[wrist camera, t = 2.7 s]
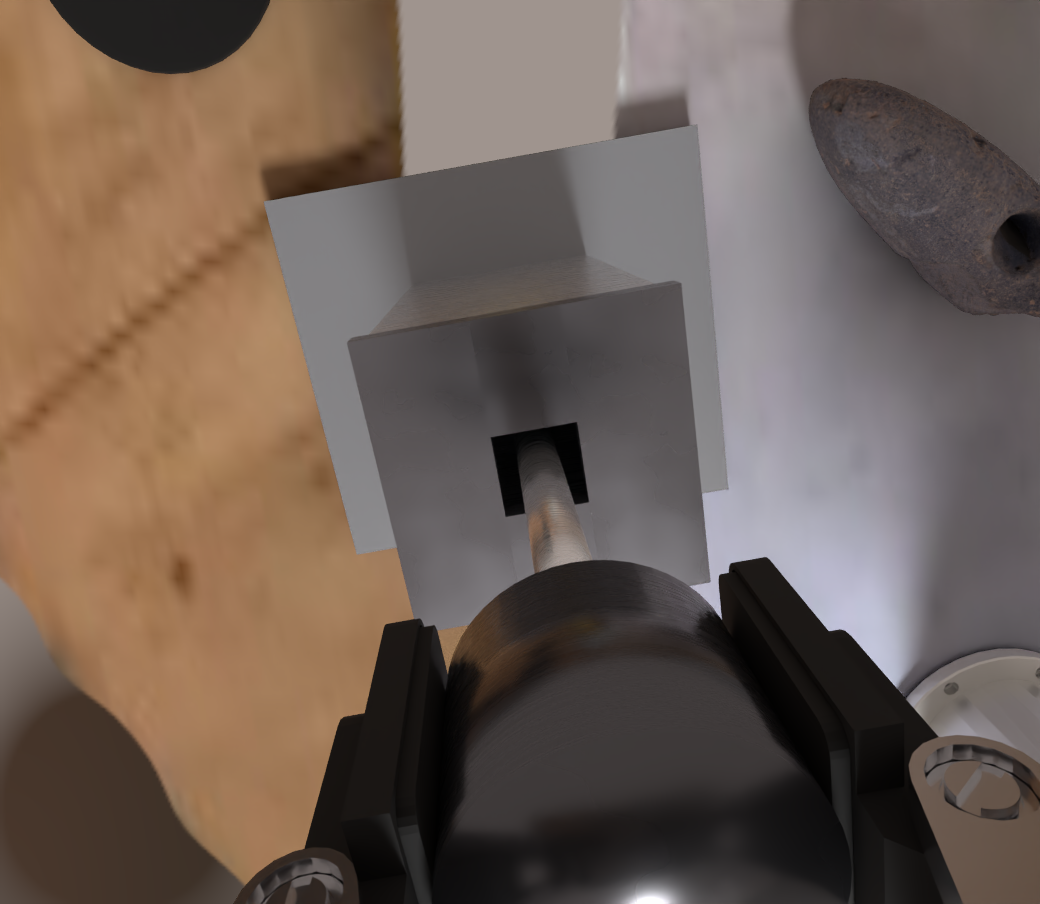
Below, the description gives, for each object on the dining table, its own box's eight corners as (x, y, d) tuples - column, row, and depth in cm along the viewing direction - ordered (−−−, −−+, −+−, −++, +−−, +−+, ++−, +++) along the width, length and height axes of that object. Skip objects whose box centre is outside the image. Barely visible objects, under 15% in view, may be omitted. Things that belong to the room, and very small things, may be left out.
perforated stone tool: (755, 139, 35) (819, 123, 29) (835, 43, 34) (921, 3, 28) (956, 337, 39) (1054, 363, 32) (1034, 256, 38) (1152, 266, 31)
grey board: (690, 127, 35) (697, 124, 34) (721, 481, 41) (728, 488, 39) (270, 201, 35) (263, 201, 34) (360, 545, 41) (356, 554, 39)
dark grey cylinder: (579, 341, 26) (845, 694, 7) (596, 460, 27) (856, 1016, 8) (454, 364, 26) (388, 774, 7) (477, 481, 27) (475, 1083, 8)
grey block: (589, 249, 35) (681, 283, 19) (620, 477, 39) (718, 665, 23) (406, 282, 35) (346, 342, 19) (454, 507, 39) (437, 714, 23)
